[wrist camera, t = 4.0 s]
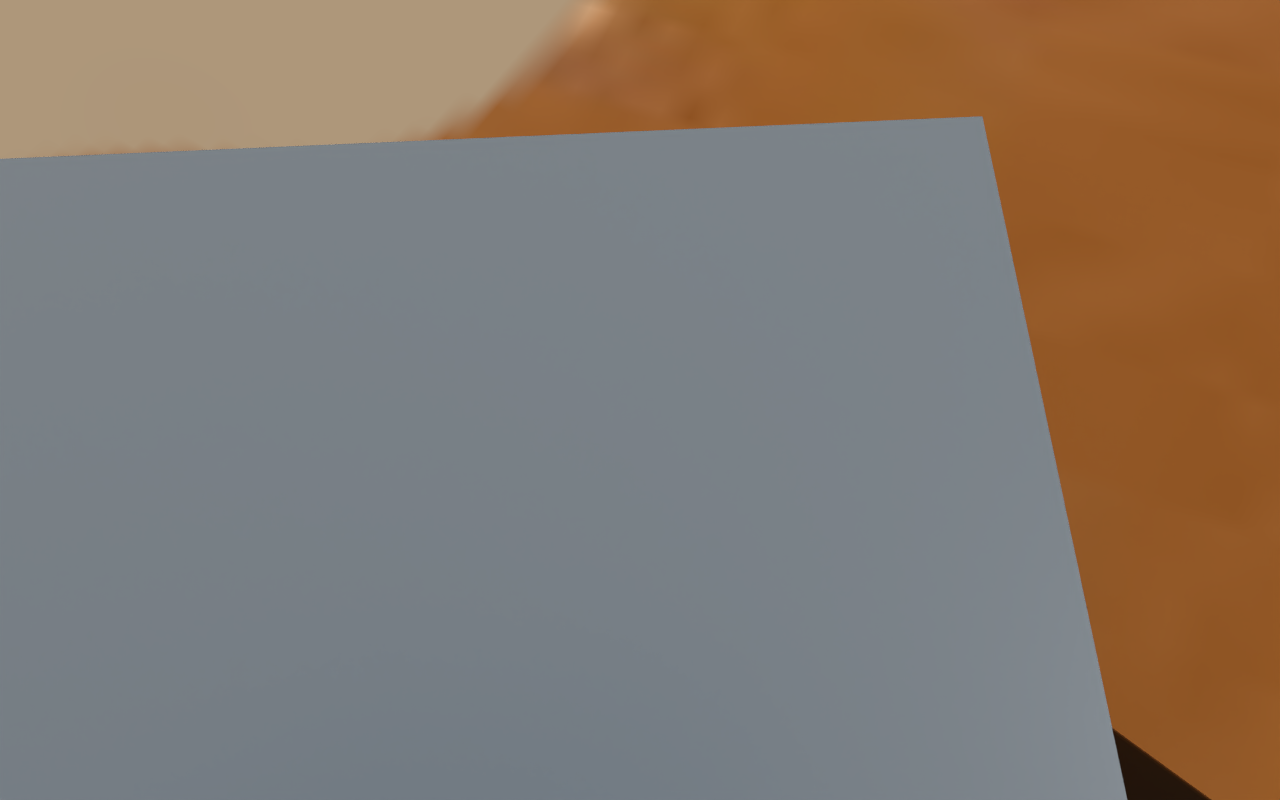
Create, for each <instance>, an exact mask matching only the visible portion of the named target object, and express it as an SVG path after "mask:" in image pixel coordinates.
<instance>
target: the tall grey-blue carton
mask: <svg viewBox="0 0 1280 800" xmlns="http://www.w3.org/2000/svg"><path fill="white" fill-rule="evenodd" d="M0 800H1127V796H1126V791H1125V786H1124V782H1123V777H1122V772H1121V768H1120V763H1119V758H1118V753H1117V749H1116V744H1115V739H1114V735H1113V730H1112V725H1111V720H1110V716H1109V711H1108V706H1107V702H1106V697H1105V692H1104V688H1103V683H1102V678H1101V673H1100V669H1099V664H1098V659H1097V655H1096V650H1095V645H1094V640H1093V636H1092V631H1091V626H1090V622H1089V617H1088V612H1087V608H1086V603H1085V598H1084V593H1083V589H1082V584H1081V579H1080V575H1079V570H1078V565H1077V560H1076V556H1075V551H1074V546H1073V542H1072V537H1071V532H1070V528H1069V523H1068V518H1067V513H1066V509H1065V504H1064V499H1063V495H1062V490H1061V485H1060V480H1059V476H1058V471H1057V466H1056V462H1055V457H1054V452H1053V447H1052V443H1051V438H1050V433H1049V429H1048V424H1047V419H1046V415H1045V410H1044V405H1043V400H1042V396H1041V391H1040V386H1039V382H1038V377H1037V372H1036V367H1035V363H1034V358H1033V353H1032V349H1031V344H1030V339H1029V335H1028V330H1027V325H1026V320H1025V316H1024V311H1023V306H1022V302H1021V297H1020V292H1019V287H1018V283H1017V278H1016V273H1015V269H1014V264H1013V259H1012V255H1011V250H1010V245H1009V240H1008V236H1007V231H1006V226H1005V222H1004V217H1003V212H1002V207H1001V203H1000V198H999V193H998V189H997V184H996V179H995V175H994V170H993V165H992V160H991V156H990V151H989V146H988V142H987V137H986V132H985V127H984V123H983V118H982V117H960V118H937V119H913V120H890V121H867V122H844V123H821V124H798V125H775V126H752V127H728V128H705V129H682V130H659V131H636V132H613V133H590V134H567V135H543V136H520V137H497V138H474V139H451V140H428V141H405V142H381V143H358V144H335V145H312V146H289V147H266V148H243V149H220V150H196V151H173V152H150V153H127V154H104V155H81V156H58V157H35V158H11V159H0Z"/></svg>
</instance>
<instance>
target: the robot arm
mask: <svg viewBox="0 0 1280 800" xmlns="http://www.w3.org/2000/svg"><path fill="white" fill-rule="evenodd" d="M1112 730H1113V735H1114V739H1115V744H1116V749H1117V753H1118V758H1119V763H1120V768H1121V772H1122V777H1123V782H1124V786H1125V791H1126V796H1127V800H1211V799H1209V798H1208V797H1207V796H1205V795H1204V794H1203V793H1201V792H1200V791H1198V790H1197V789H1196V788H1194V787H1193V786H1192V785H1190V784H1189V783H1187V782H1186V781H1185V780H1183V779H1182V778H1181V777H1179V776H1178V775H1176V774H1175V773H1174V772H1172V771H1171V770H1169V769H1168V768H1167V767H1165V766H1164V765H1163V764H1161V763H1160V762H1158V761H1157V760H1156V759H1154V758H1153V757H1152V756H1150V755H1149V754H1147V753H1146V752H1145V751H1143V750H1142V749H1141V748H1139V747H1138V746H1136V745H1135V744H1134V743H1132V742H1131V741H1129V740H1128V739H1127V738H1125V737H1124V736H1123V735H1121V734H1120V733H1118V732H1117V731H1116V730H1114V729H1113V728H1112Z"/></svg>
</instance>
